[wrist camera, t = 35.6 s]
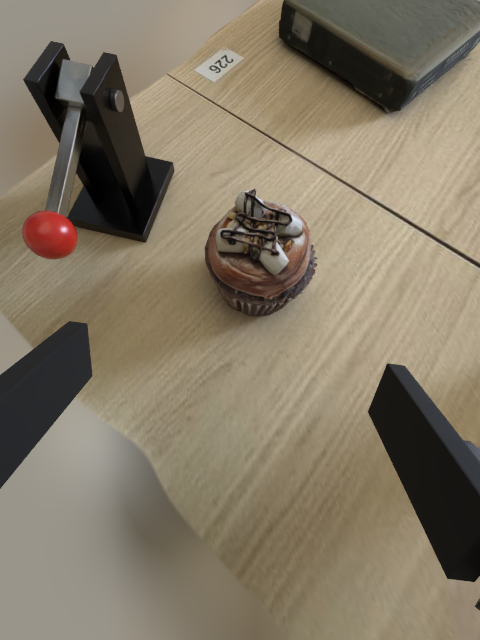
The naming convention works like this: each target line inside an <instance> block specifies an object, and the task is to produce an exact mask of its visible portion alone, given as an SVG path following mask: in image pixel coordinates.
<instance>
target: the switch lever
mask: <svg viewBox="0 0 480 640" xmlns="http://www.w3.org/2000/svg"><path fill="white" fill-rule="evenodd" d="M93 69H94V68H93V67H92V66H91V65H87V64H83V63H79V62H74V61H69V60H65V59H63V61H62V65H61V70H60V75H59V79H58V84H57V89H56V93H55V98H56V99H57V100H58V101H59V103H60V104H61V105H62V106H63V107H64V108H65V109H66V110H67V112H66V116H65V121H64V126H63V130H62V135H61V139H60V144H59V149H58V153H57V158H56V162H55V167H54V172H53V176H52V181H51V185H50V190H49V195H48V199H47V204H46V208H45V211H39V212H36V213H33V214H32V215H30V216H29V217H28V218H27V219H26V221H25V222H24V225H23V229H22V234H23V239H24V241H25V243H26V245H27V246H28V248H29V249H30V250H31V251H33V252H34V253H35V254H37V255H38V256H41V257H43V258H47V259H61V258H64V257H66V256H68V255H69V254H71V253H72V252H73V251H74V249H75V247H76V245H77V241H78V236H77V231H76V229H75V227H74V225H73V224H72V222H71V221H70V220H69V219H68V218H66V215H67V211H68V206H69V202H70V197H71V193H72V188H73V184H74V179H75V174H76V170H77V165H78V161H79V156H80V152H81V147H82V142H83V138H84V133H85V129H86V124H87V121H88V122H92V121H91V118H90V116H89V114H88V111H87V109H86V107H85V104H84V102H83V100H82V97H81V95H80V90H81V88H82V87H83V85H84V83H85V82H86V80H87V79H88V77H89V75H90V74H91V72H92V70H93Z"/></svg>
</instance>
